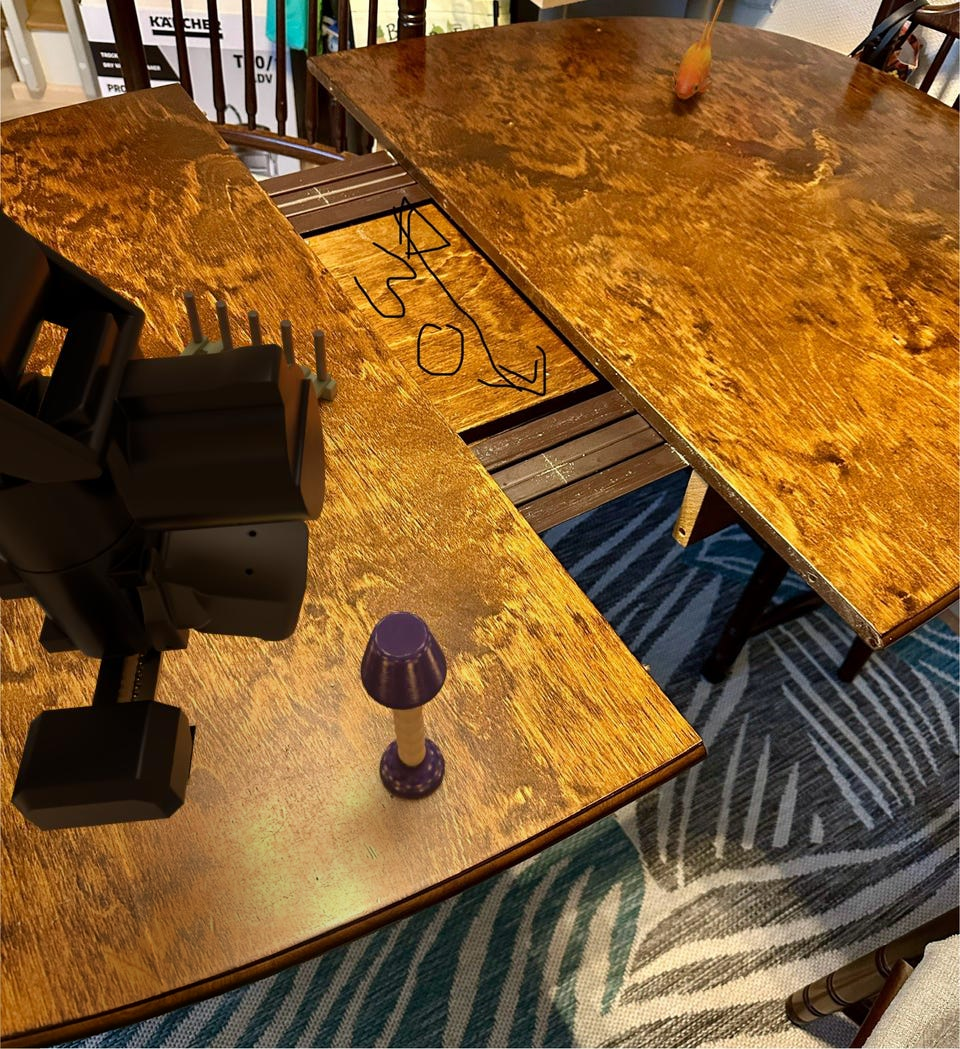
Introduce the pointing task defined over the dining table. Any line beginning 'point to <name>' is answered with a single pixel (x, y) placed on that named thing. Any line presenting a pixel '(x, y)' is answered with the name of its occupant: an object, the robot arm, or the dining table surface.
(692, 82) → the fish
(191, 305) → the rack
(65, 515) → the robot arm
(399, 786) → the toy lamp
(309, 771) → the dining table surface
